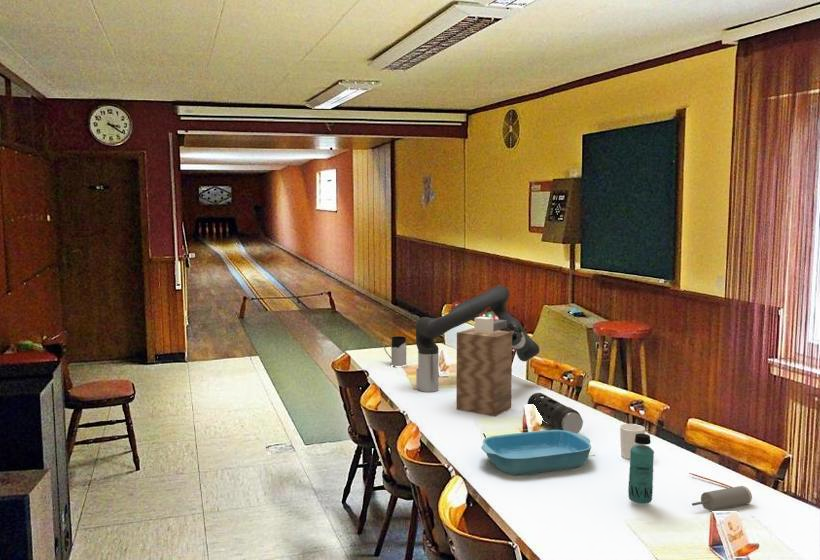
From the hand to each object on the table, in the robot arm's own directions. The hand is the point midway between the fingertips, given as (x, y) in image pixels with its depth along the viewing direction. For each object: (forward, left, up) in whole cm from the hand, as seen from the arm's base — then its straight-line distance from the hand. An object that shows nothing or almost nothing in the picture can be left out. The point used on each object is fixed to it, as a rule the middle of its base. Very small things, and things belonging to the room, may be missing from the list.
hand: (499, 323), depth 299 cm
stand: (0, -13, -34) cm, 36 cm away
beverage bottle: (+82, -72, -34) cm, 114 cm away
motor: (+94, -55, -34) cm, 114 cm away
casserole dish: (+44, -58, -34) cm, 81 cm away
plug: (0, -7, -2) cm, 7 cm away
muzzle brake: (+34, -20, -34) cm, 52 cm away
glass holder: (-79, +33, -34) cm, 92 cm away
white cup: (+68, -35, -34) cm, 84 cm away
